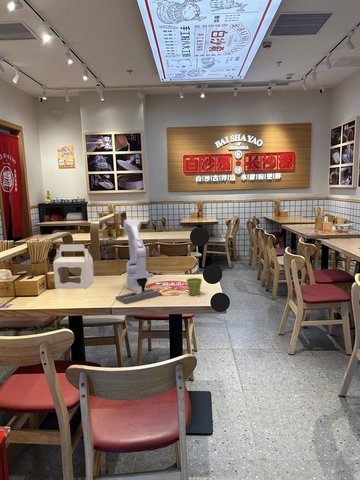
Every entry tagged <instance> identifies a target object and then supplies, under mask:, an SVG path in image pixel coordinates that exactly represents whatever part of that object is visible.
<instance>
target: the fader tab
mask: <svg viewBox="0 0 360 480" xmlns="http://www.w3.org/2000/svg"><path fill="white" fill-rule="evenodd" d="M132 291H133V292H132V293H135V295H139V294H140V293H142V286H139V285H134V286H133V290H132Z"/></svg>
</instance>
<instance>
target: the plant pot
mask: <svg viewBox="0 0 360 480" xmlns="http://www.w3.org/2000/svg"><path fill="white" fill-rule="evenodd" d="M185 281H186V283H187V286H188V294H189V295H190V296H198V295H200V294H201V286H202V281H203V279H202V278H200V277H191V278H187V279H185Z"/></svg>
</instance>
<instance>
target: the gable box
mask: <svg viewBox="0 0 360 480" xmlns="http://www.w3.org/2000/svg"><path fill="white" fill-rule="evenodd" d="M62 252H63V253H64V252H83V254H84V256H62ZM93 259H94V258H93V257H92V256H91V253H90V252H89V248H86V245H85V244H82V243H77V244H76V243H74V244H69V243H67V244H60V246H59V248H58V249H56V254H55V257H54V259H53V261H52V263H53V264H52V266H53V277H54V278H53V279H54V280H53V281H54V288H55V289H88V288H90V286H92V285H93V284H94V283H95V279H94V276H95V275H94V264H93V263H94V262H93V261H94V260H93ZM68 268H73V269H74V268H80V269H81V273H80V276H77V277H72V278H71V277H70V276H69V274H70V273H69V269H68Z"/></svg>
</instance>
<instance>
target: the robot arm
mask: <svg viewBox="0 0 360 480" xmlns="http://www.w3.org/2000/svg"><path fill="white" fill-rule="evenodd" d="M141 227H142V226H141V220H140V219H139V218H137V219H135V218H134V219H124V220H123V231H124V234H126V235H127V239H128V240H127V241H128V251H129V260H128V261H127V262H126V265H125V266H126V267H125V268H126V269H125V270H126V274H127V277H126V286H125V287H126V288H127V289H128V290H130V291H131V290H132V291H133V286H134V285H139V286H142V291H144V290H146V289H145V288H146V285H147V282H148V280H149V279H148V278H153V277H154V273H152V272H151V273H147V257H148V250H147V247H146V246H145V245H144V242H143V239H142V237H140V233H139V231H140V230H141Z"/></svg>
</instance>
